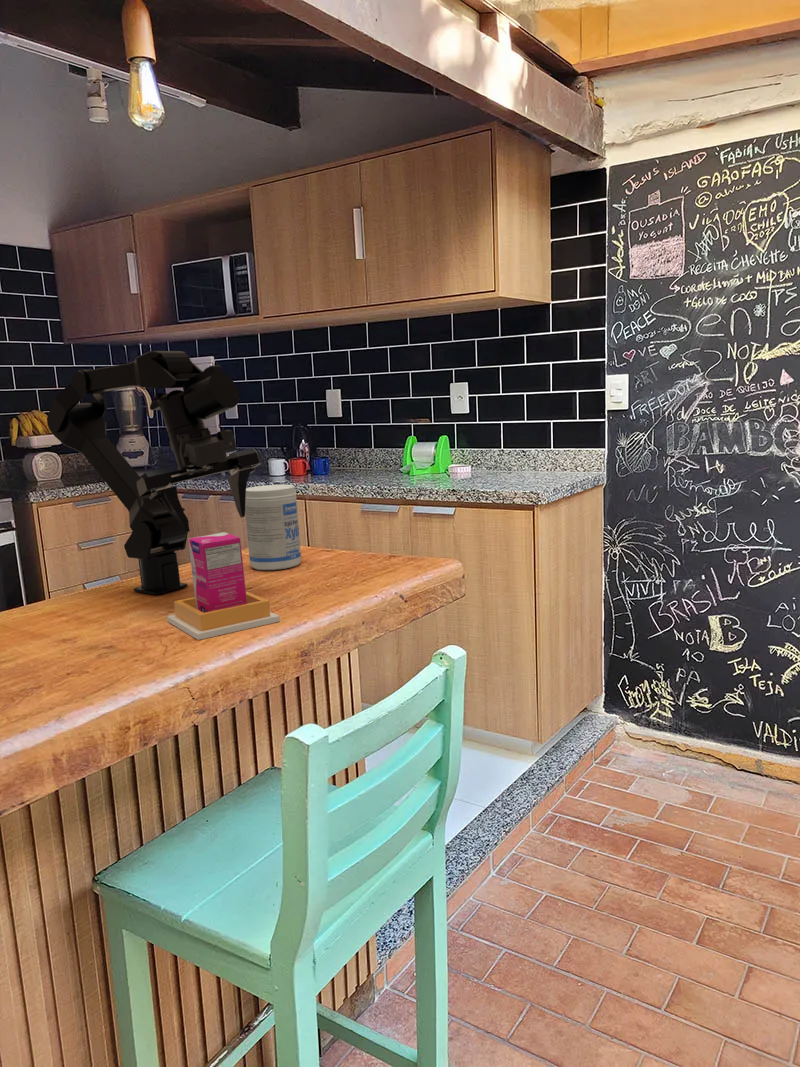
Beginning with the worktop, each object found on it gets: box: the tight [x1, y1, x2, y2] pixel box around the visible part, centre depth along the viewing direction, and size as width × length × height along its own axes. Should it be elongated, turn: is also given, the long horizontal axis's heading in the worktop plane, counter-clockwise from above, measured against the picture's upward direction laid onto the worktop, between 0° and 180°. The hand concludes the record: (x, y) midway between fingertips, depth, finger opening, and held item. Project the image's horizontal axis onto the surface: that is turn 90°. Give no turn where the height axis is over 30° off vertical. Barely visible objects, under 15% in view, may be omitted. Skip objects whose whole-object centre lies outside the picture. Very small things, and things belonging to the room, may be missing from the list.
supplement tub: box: [245, 484, 302, 571], centre depth 150 cm, size 10×10×15 cm
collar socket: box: [166, 590, 281, 641], centre depth 115 cm, size 12×12×3 cm
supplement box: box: [187, 531, 247, 613], centre depth 114 cm, size 6×6×12 cm
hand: (215, 524), depth 127 cm, fingers open, 9 cm apart
